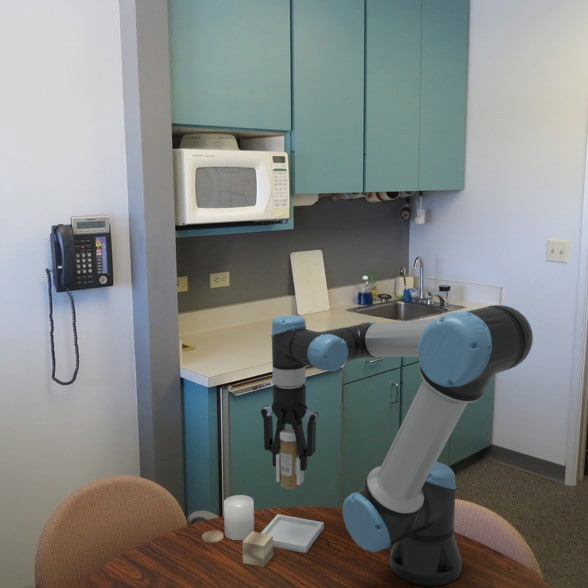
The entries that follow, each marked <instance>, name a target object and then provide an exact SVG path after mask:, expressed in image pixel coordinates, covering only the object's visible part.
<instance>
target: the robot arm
mask: <svg viewBox="0 0 588 588" xmlns="http://www.w3.org/2000/svg"><path fill="white" fill-rule="evenodd" d="M271 323H272V324H271V325H272V326H271V335H270V336H271V351H272V352H271V359H272V360H271V361H272V362H271V363H272V384H273V385H272V404H271V405H270V406H268V405H267V406H264V407H263V408H261V410H260V413H261V416H262V419H263V440H264V441H263V444H264V445H263V447H264V450H265V451H270V452H271V454H272V466H273V467H275V475H276V476H275V477H276V478H275V480H276V482H277V483H281V457H280V451H281V441H280V440H281V439H280V432H281V431H282V430H283V429H284V428H286V425H290V426H291V428H293V430H294V433H295V437H296V442H297V447H298V451H299V456H298V457H297V458H296V471H297V485H300V486H301V485H302V483H303V482H304V481H305V471H306V470H307V468H308V457H309V458H310V457H312V456H313V455H314V454H315V453H316V446H317V445H316V440H317V439H316V438H317V437H316V436H317V432H316V431H317V421H318V418H319V412H318V411H317V412H316V411H314V412H313V411H311V410H309V409H308V406H307V404H306V402H307V401H306V400H307V392H306V391H307V389H306V388H307V387H306V386H307V385H305V383H306V381H307V380H306V379H307V377H306V372H307V371H306V370H307V369H306V366H309V367H313V368H315V369H317V370H321V371H328V372H335V371H338V370H340V369H341V367H342V366H344V365H346V362H350V361H355V360H359V359H367V358H368V359H373V358H397V357H398V358H406V357H408V358H409V357H411V358H412V357H413V358H414V357H418V358H419V359H418V362H419V364H420V365H419V374H420V376H421V378H422V382H421V384H420V386H419V388H418V390H417V392H416V394H415V396H414V398H413V400H412V402H411V404H410V406H409V408H408V411H407V412H406V415H405V417H404V419H403V420H402V423H401V425H400V427H399V429H398V431H397V433H396V435H395V437H394V439H393V441H392V442H391V446H390V448H389V450H388V452H387V454H386V455H385V458H384V460H383V463H382V464H381V465H380V466H376V467H374V468H373V469H371V470H370V472H369V473H368V475H367V477H366V478H365V481H364V483H363V485H362V487H361V488H360V490H359V491H357V492H352V493H350V495H348V496H347V497H346V498H345V499H344V502H343V505H342V517H343V522H344V523H345V524H344V525H345V527H346V530H347V532H348V534H349V535H350V537H351V538H352V540H354V542H355V544H357V546H359V547H360V548H362V549H363V550H365V551H367V552H372V553H377V552H380V551H383V550H387V549H389V548H390V547H391V546H392V547H391V549H390V554H389V567H390V569H391V571H392V572H393V573H394V574H395V575H396V576H398V577H399V578H400V579H402V580H404V581H406V582H409V583H412V584H415V585H421V586H428V587H429V586H431V587H433V586H435V587H437V586H443V585H448V584H450V583H452V582H454V581H455V580H457V579H458V578H459V577H460V575H461V574H462V567H463V565H462V561H463V560H462V556H461V553H460V551H459V547H458V543H457V540H456V537H455V513H456V511H455V510H456V507H455V506H456V505H455V504H456V489H457V486H456V475H455V473H454V471H453V469H452V468H451V467H450V466H448V465H447V464H444V463H442V462H440V461H439V462H438V459H439V457H440V455H441V453H442V451H443V449H444V448H445V447H446V446H445V445H446V444H447V442H448V440H449V439H450V436H451V435H452V433H453V431H454V429H455V427H457V424H458V423H459V421H460V418H461V416H462V414H463V412H464V411H465V409H466V406H467V405H468V404H469V403H475V402H477V401H479V400H480V399H481V398H482V396H483V395H484V392H485V391H486V389H487V388H488V386H489V384H490V382H491V379H492V378H493V377H494V376H495V375H496V374H499V373H502V372H506V371H507V370H510V369H513V368H515V367H518V366H519V365H520V364H522V363H523V362H524V361H525V359H526V358H527V357H528V355H529V354H530V352H531V349H532V347H533V342H534V335H533V331H532V330H533V329H532V327H531V324H530V322H529V321H528V319H527V318H526V316H525V315H523V313H521V312H520V311H519V310H517V309H515V308H514V307H511V306H509V305H508V306H507V305H501V304H500V305H499V304H494V305H489V306H485V307H484V306H483V307H479V308H476V309H471V310H467V311H455V312H450V313H448V314H447V313H446V314H445V315H443V316H441V317H437V318H430V319H429V318H428V319H417V320H402V321H390V322H389V321H388V322H361V323H359V324H356V325H351V326H347V327H346V326H345V327H340V328H334V329H328V330H325V331H324V330H323V331H315V330H311V329H307V325H306V320H305V318H304V317H302V316H300V315H280V316H277V317H275V318H274V319H273V320H272V322H271ZM273 414H274V415H275V417H276V418H277V420H276V424H275V425H276V428H275V433H274V424H273V422H274V421H273ZM304 417H306V422H307V425H306V427H307V428H306V437H305V432H304V427H303V426H304V425H303V424H304V423H303V418H304Z"/></svg>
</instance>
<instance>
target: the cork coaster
mask: <svg viewBox="0 0 588 588" xmlns="http://www.w3.org/2000/svg"><path fill="white" fill-rule="evenodd" d="M224 536H225V534H224V532H222V531H221V530H216V529H215V530H214V529H213V530H208V531H206V532H203V534H202V535H201V539H202V541H203V542H204V543H208V544H215V542H216V543H218V542H221V541H222V540H224Z"/></svg>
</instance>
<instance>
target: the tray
mask: <svg viewBox="0 0 588 588" xmlns="http://www.w3.org/2000/svg"><path fill="white" fill-rule="evenodd" d="M324 523H325V522H322V521H318V520H313V519H308V518H307V519H305V518H300V517H295V516H289V515H284V514H278V513H277V514H276V516H274V518H273V519H272V520H270V522H269V524H267V525H266V526H265V528H263V530H262V531H261V532H260V533H264V534H269V535H273V548H277V549H283V550H287V551H292V552H296V553H298V552H299V553H301V554H302V553H304V554H307V553H308V552H309V550H310V548H311V547H312V546H313V544H314V543H315V542H316V540H317V539H318V537H319V536H320V535H321V533H322V532H323V530H324V526H325V525H324Z"/></svg>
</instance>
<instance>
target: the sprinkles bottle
mask: <svg viewBox="0 0 588 588" xmlns="http://www.w3.org/2000/svg"><path fill="white" fill-rule="evenodd" d="M280 439H281V440H280V441H281V449H280V457H281V481H280V486H281V488H282V489H287V490H293V489H297V488H299V487H300V486H301V485H297V471H296V458H297V457H298V456H299V451H298V447H297V442H296V437H295V433H294V430H293V428H292V427H285V428H284V429H283V430H282V431H281V432H280Z"/></svg>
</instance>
